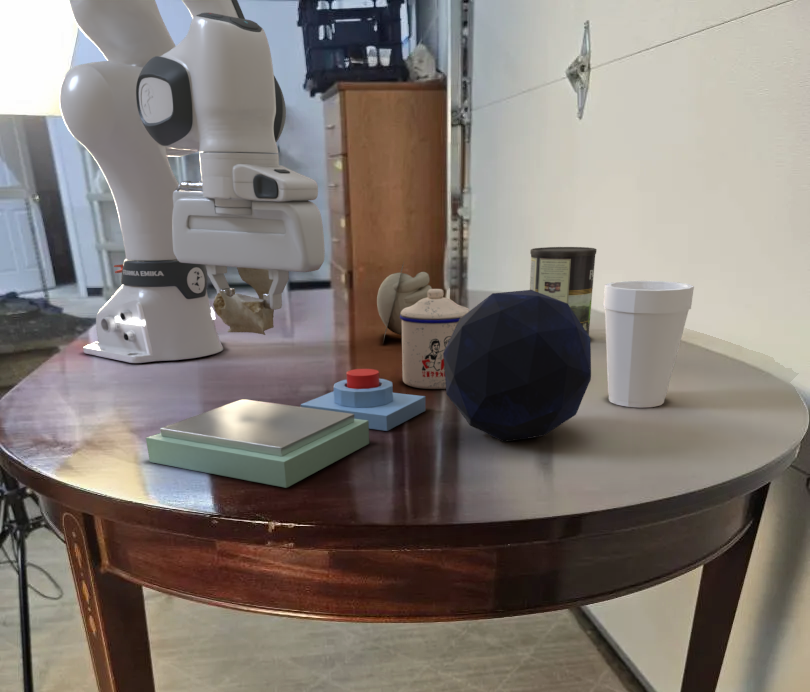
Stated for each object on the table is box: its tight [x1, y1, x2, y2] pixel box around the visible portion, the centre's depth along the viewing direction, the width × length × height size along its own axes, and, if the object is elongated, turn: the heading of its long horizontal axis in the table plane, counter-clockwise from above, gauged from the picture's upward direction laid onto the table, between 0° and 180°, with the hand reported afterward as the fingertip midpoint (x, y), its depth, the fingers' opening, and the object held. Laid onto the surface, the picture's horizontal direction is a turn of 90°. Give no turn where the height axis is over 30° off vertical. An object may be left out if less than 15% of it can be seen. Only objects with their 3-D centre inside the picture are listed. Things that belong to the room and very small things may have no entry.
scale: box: [145, 398, 370, 489], centre depth 75 cm, size 16×14×3 cm
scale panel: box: [300, 378, 426, 432], centre depth 87 cm, size 11×9×4 cm
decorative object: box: [376, 261, 433, 343], centre depth 128 cm, size 13×10×10 cm
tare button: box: [346, 368, 380, 389], centre depth 86 cm, size 4×4×2 cm
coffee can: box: [529, 246, 597, 336], centre depth 125 cm, size 10×10×14 cm
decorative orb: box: [443, 289, 592, 443], centre depth 76 cm, size 14×15×15 cm
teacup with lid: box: [400, 288, 471, 390], centre depth 100 cm, size 12×9×12 cm
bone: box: [212, 267, 275, 336], centre depth 95 cm, size 9×6×10 cm
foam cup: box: [602, 280, 695, 409], centre depth 88 cm, size 10×9×13 cm
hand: (250, 306), depth 95 cm, fingers closed on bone, 6 cm apart
